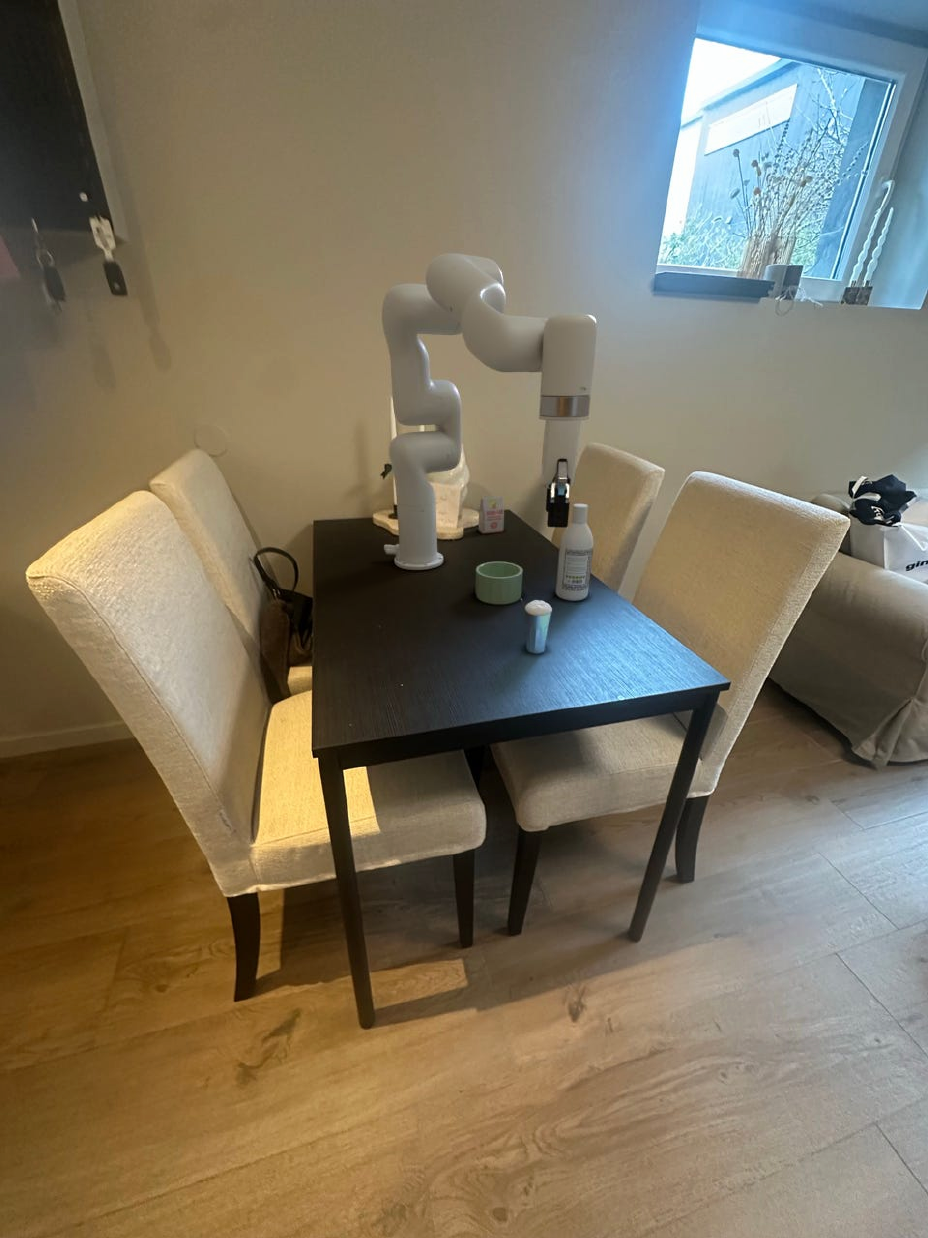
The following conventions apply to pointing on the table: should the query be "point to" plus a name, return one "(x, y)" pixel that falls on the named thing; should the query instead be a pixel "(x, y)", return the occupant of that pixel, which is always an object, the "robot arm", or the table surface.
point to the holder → (498, 582)
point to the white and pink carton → (491, 515)
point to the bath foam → (575, 557)
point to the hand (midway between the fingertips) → (555, 518)
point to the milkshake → (537, 625)
